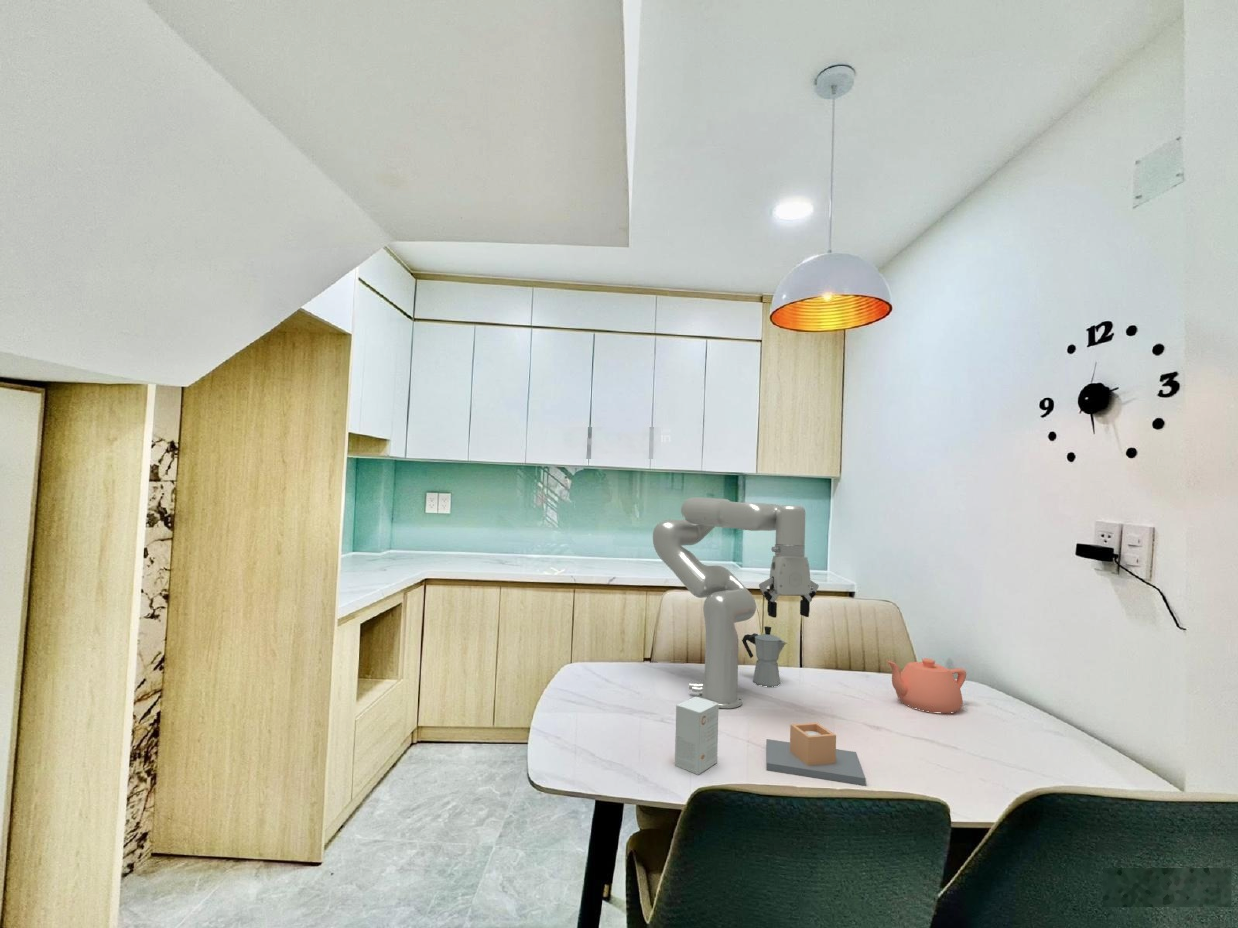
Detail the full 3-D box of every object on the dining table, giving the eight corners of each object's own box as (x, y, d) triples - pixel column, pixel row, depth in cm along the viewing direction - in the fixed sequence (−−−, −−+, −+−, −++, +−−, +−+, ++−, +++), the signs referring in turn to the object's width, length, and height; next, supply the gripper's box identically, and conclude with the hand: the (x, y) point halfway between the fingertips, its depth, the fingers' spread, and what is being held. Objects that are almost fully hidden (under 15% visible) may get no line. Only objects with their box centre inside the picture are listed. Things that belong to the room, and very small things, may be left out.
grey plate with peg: (766, 770, 122) (767, 739, 122) (766, 745, 134) (767, 717, 135) (865, 785, 117) (865, 753, 117) (855, 758, 129) (856, 729, 130)
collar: (807, 765, 121) (808, 737, 122) (789, 751, 128) (790, 724, 129) (835, 763, 123) (836, 735, 124) (816, 749, 130) (817, 722, 130)
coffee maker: (789, 683, 182) (791, 627, 183) (782, 690, 175) (783, 632, 176) (745, 674, 190) (747, 620, 191) (736, 681, 183) (738, 625, 184)
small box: (693, 753, 128) (695, 695, 129) (717, 763, 124) (719, 702, 125) (673, 765, 122) (675, 704, 123) (698, 775, 118) (700, 712, 119)
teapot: (901, 715, 158) (902, 667, 159) (870, 694, 175) (870, 651, 176) (985, 716, 160) (985, 668, 161) (946, 695, 177) (946, 652, 178)
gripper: (768, 552, 144) (766, 619, 143) (826, 553, 149) (825, 618, 148) (753, 549, 151) (752, 613, 150) (809, 550, 156) (808, 613, 155)
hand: (788, 616), depth 149 cm, fingers open, 9 cm apart
